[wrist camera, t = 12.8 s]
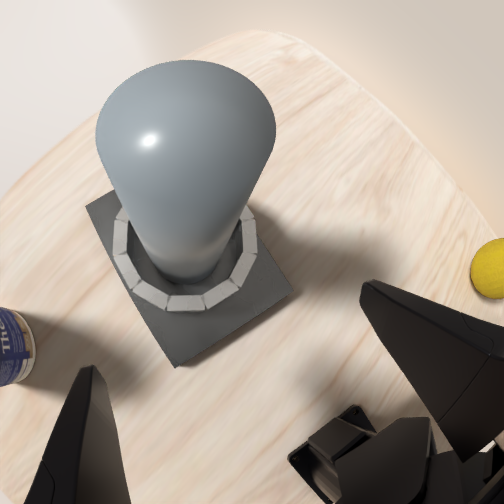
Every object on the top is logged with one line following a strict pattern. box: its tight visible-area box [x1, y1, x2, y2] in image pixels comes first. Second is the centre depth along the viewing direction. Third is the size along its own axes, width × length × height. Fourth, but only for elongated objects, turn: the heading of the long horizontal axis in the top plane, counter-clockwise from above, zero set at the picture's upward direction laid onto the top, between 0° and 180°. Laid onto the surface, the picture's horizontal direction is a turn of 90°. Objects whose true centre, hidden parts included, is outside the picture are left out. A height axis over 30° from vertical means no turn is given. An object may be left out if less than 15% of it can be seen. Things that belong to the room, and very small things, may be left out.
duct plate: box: [85, 189, 294, 368], centre depth 19 cm, size 12×9×4 cm
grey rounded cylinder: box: [96, 60, 276, 284], centre depth 13 cm, size 4×4×13 cm
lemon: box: [471, 238, 504, 299], centre depth 22 cm, size 6×6×8 cm
